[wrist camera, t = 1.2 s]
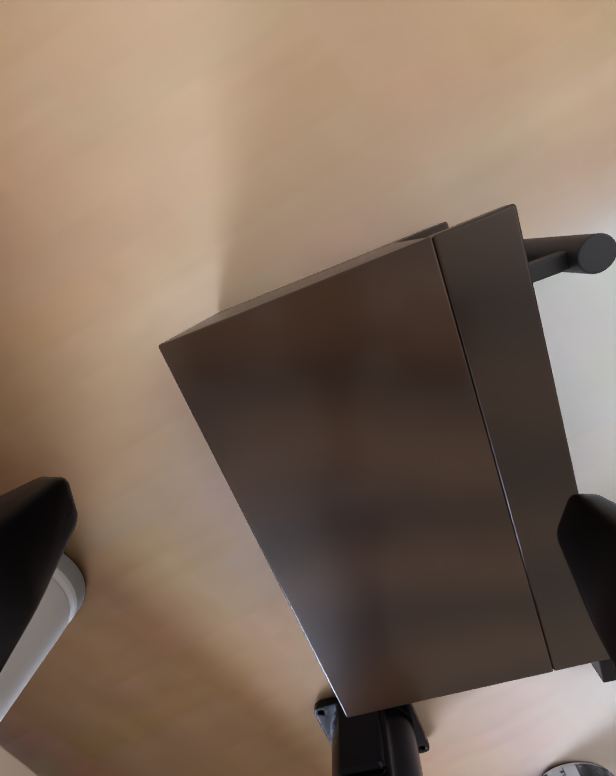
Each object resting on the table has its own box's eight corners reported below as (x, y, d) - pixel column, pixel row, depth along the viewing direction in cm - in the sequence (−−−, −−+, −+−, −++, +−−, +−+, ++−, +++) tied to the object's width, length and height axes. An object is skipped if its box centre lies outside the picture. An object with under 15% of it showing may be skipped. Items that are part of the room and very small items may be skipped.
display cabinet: (526, 535, 23) (615, 658, 16) (340, 586, 25) (346, 718, 18) (442, 222, 18) (516, 202, 11) (216, 313, 20) (156, 345, 13)
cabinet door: (561, 386, 19) (646, 434, 14) (479, 413, 20) (532, 468, 15) (524, 213, 17) (610, 196, 12) (433, 249, 18) (477, 247, 13)
